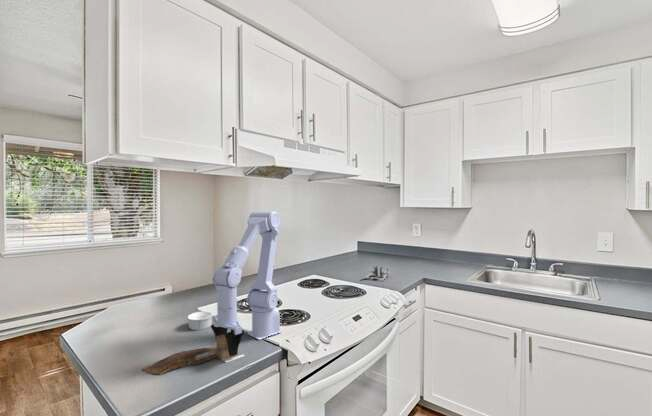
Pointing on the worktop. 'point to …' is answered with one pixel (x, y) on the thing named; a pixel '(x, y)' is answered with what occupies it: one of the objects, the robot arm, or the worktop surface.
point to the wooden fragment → (179, 361)
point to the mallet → (218, 349)
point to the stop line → (234, 358)
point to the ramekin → (200, 320)
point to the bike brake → (377, 273)
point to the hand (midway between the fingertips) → (227, 350)
